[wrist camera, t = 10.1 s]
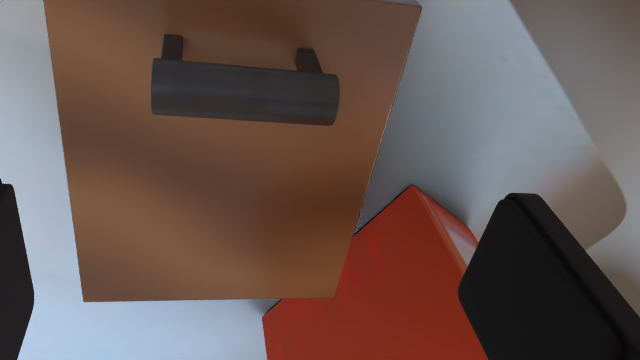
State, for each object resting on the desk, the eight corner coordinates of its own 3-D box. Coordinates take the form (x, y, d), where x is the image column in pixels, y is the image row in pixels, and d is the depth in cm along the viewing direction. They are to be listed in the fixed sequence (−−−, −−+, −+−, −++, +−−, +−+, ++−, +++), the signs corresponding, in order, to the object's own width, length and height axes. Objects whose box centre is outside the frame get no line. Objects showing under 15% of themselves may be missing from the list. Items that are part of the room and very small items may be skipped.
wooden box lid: (42, -51, 18) (-3, 6, 14) (416, -1, 21) (465, 56, 17) (85, 290, 28) (66, 377, 24) (331, 287, 31) (349, 363, 27)
